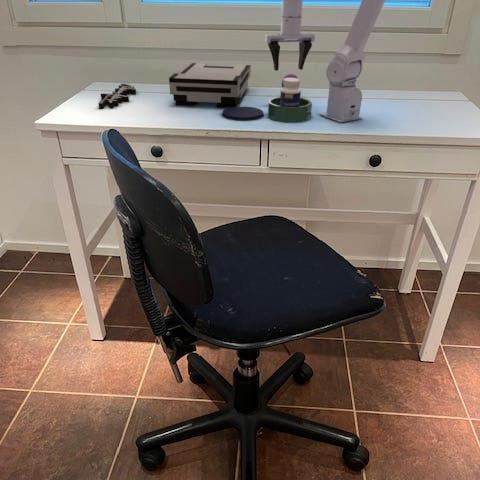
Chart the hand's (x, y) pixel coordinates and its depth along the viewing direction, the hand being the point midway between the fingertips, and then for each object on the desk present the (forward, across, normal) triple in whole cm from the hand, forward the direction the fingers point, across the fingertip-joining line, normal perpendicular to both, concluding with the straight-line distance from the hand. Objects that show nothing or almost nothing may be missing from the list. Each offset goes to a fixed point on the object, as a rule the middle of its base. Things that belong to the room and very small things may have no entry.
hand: (288, 69), depth 147 cm
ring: (+10, +3, +12) cm, 16 cm away
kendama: (+10, -3, -8) cm, 14 cm away
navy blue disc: (+10, +16, +8) cm, 21 cm away
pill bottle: (+10, +3, +12) cm, 16 cm away
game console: (+10, +20, -16) cm, 28 cm away
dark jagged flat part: (+10, +52, -19) cm, 56 cm away
